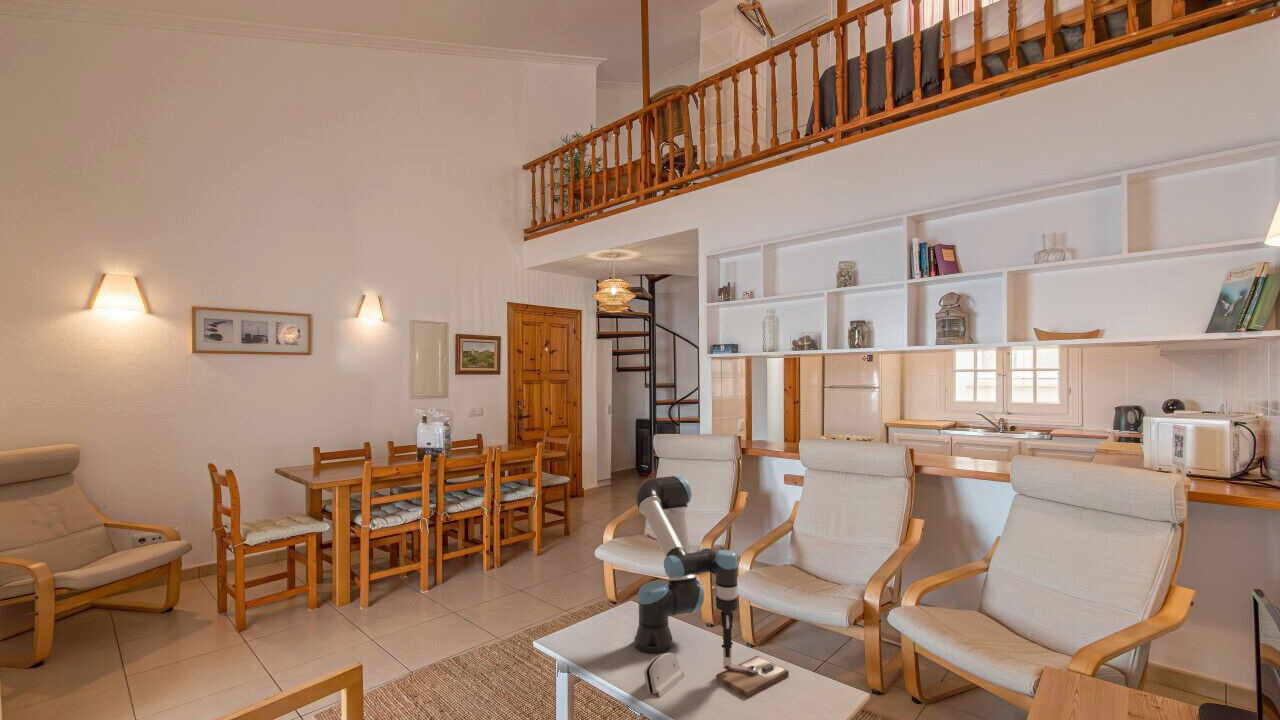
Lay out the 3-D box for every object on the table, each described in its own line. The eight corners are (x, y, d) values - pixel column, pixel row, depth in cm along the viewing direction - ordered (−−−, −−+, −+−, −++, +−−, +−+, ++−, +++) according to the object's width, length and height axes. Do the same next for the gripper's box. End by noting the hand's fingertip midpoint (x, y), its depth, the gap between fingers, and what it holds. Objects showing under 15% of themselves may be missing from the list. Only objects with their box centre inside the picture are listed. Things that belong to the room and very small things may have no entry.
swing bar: (757, 670, 203) (757, 652, 203) (756, 674, 200) (756, 656, 200) (724, 664, 207) (724, 647, 207) (722, 669, 204) (722, 651, 204)
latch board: (716, 680, 200) (716, 670, 201) (757, 661, 214) (757, 651, 214) (747, 698, 189) (746, 687, 190) (788, 676, 203) (788, 666, 203)
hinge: (659, 698, 190) (651, 666, 192) (648, 698, 192) (640, 667, 194) (685, 676, 203) (677, 646, 206) (674, 677, 206) (666, 647, 208)
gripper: (715, 589, 210) (716, 656, 209) (716, 603, 197) (717, 673, 196) (736, 590, 209) (736, 656, 208) (738, 603, 196) (739, 674, 195)
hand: (727, 664), depth 202 cm, fingers closed
